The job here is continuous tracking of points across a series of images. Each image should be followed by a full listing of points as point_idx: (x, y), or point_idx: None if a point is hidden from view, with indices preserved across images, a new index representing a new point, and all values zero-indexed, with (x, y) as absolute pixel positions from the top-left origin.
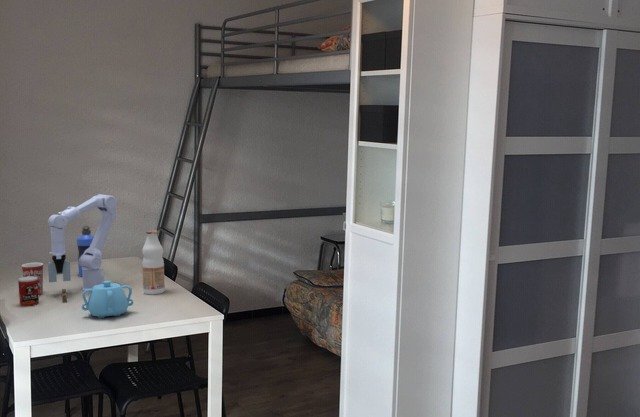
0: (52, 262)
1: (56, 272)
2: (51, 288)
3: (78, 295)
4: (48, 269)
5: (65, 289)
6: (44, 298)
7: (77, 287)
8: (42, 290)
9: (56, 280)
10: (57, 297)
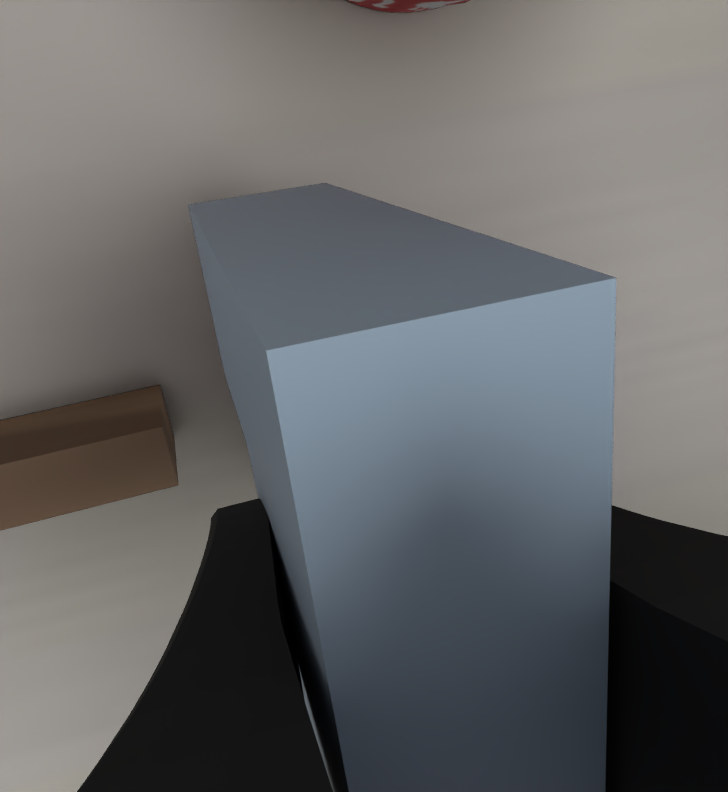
0: (473, 541)
1: (259, 483)
2: (694, 119)
3: (169, 593)
4: (221, 268)
5: (144, 487)
6: (14, 103)
7: (621, 467)
8: (402, 7)
9: (228, 383)
10: (73, 326)
